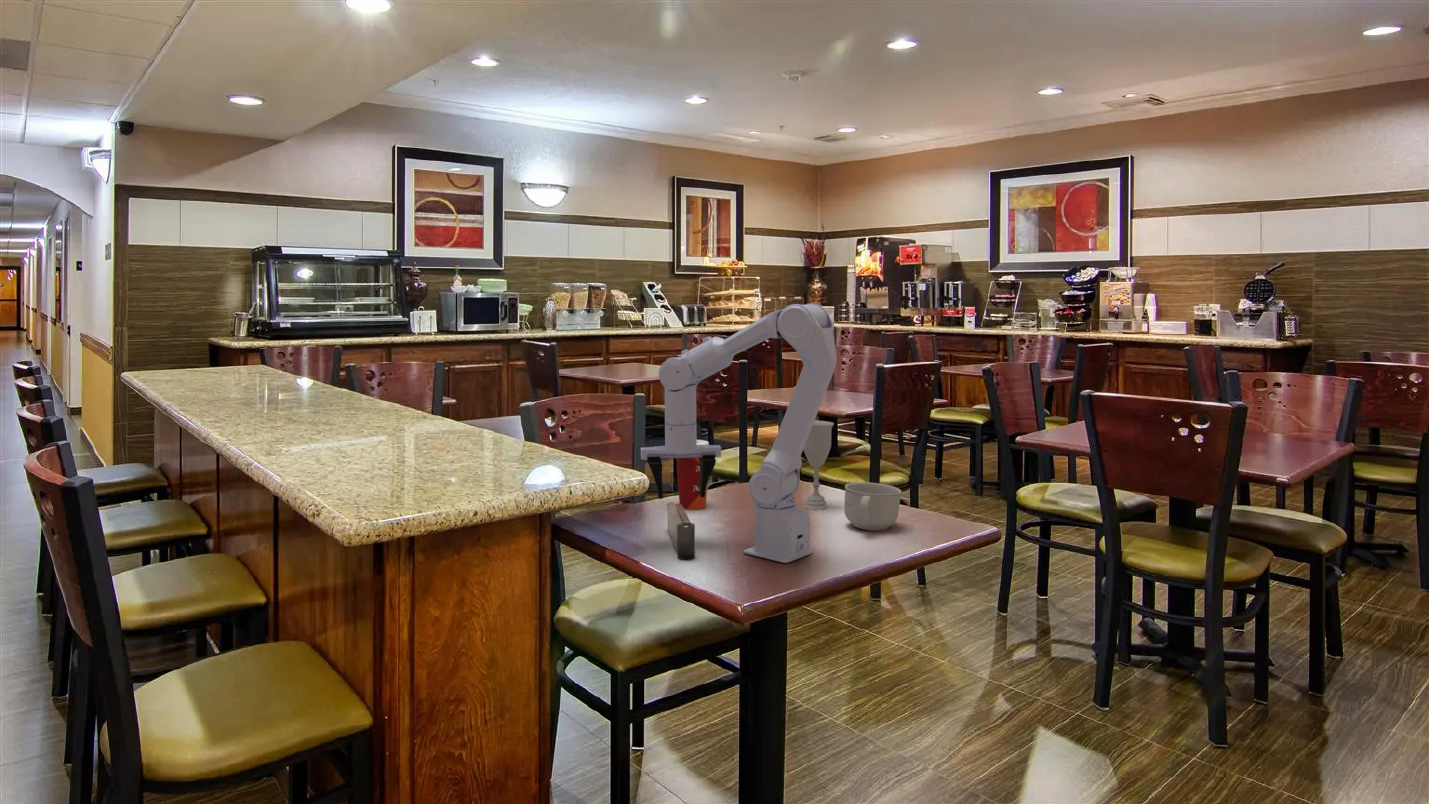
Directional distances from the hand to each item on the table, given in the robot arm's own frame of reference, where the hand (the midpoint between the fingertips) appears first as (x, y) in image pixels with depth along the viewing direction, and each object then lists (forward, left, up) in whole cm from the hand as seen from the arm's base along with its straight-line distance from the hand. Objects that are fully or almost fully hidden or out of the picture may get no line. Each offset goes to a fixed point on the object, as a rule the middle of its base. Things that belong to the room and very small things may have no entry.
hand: (681, 496), depth 166 cm
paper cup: (+17, -21, -9) cm, 28 cm away
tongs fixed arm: (-1, +1, -8) cm, 9 cm away
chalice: (-3, -38, -9) cm, 39 cm away
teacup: (-21, -30, -9) cm, 38 cm away
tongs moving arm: (+1, +1, -8) cm, 8 cm away
